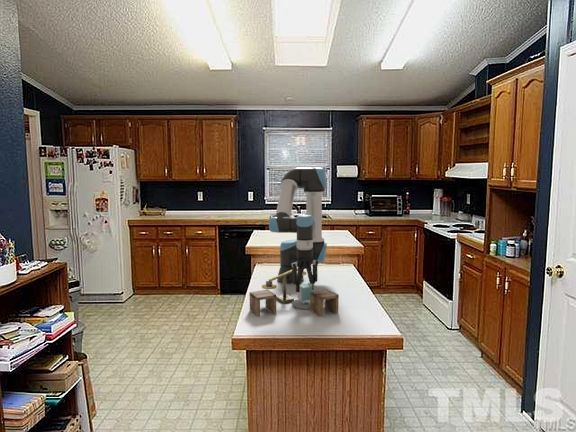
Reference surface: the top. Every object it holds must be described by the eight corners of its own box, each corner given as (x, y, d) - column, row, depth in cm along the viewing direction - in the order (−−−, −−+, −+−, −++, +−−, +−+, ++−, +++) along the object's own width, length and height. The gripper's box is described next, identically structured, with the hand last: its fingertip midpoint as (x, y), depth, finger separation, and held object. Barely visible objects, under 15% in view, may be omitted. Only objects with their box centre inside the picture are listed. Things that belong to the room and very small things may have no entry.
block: (297, 298, 187) (297, 285, 186) (306, 296, 189) (306, 284, 189) (302, 300, 182) (302, 288, 182) (312, 299, 185) (312, 286, 184)
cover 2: (310, 310, 179) (310, 292, 178) (327, 307, 183) (327, 289, 182) (321, 317, 171) (321, 297, 170) (338, 313, 175) (338, 294, 174)
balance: (259, 301, 192) (258, 270, 190) (301, 294, 203) (301, 264, 201) (266, 306, 185) (265, 273, 183) (309, 298, 196) (309, 267, 194)
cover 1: (249, 310, 180) (249, 292, 179) (267, 307, 184) (267, 289, 183) (257, 317, 172) (257, 297, 171) (276, 313, 176) (276, 294, 175)
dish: (287, 303, 189) (287, 301, 189) (309, 299, 194) (309, 297, 194) (299, 311, 178) (299, 308, 178) (322, 306, 184) (322, 304, 184)
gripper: (291, 251, 176) (291, 303, 178) (325, 248, 184) (325, 297, 187) (283, 249, 183) (283, 298, 185) (317, 245, 191) (317, 293, 193)
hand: (304, 297), depth 186 cm, fingers closed on block, 5 cm apart
